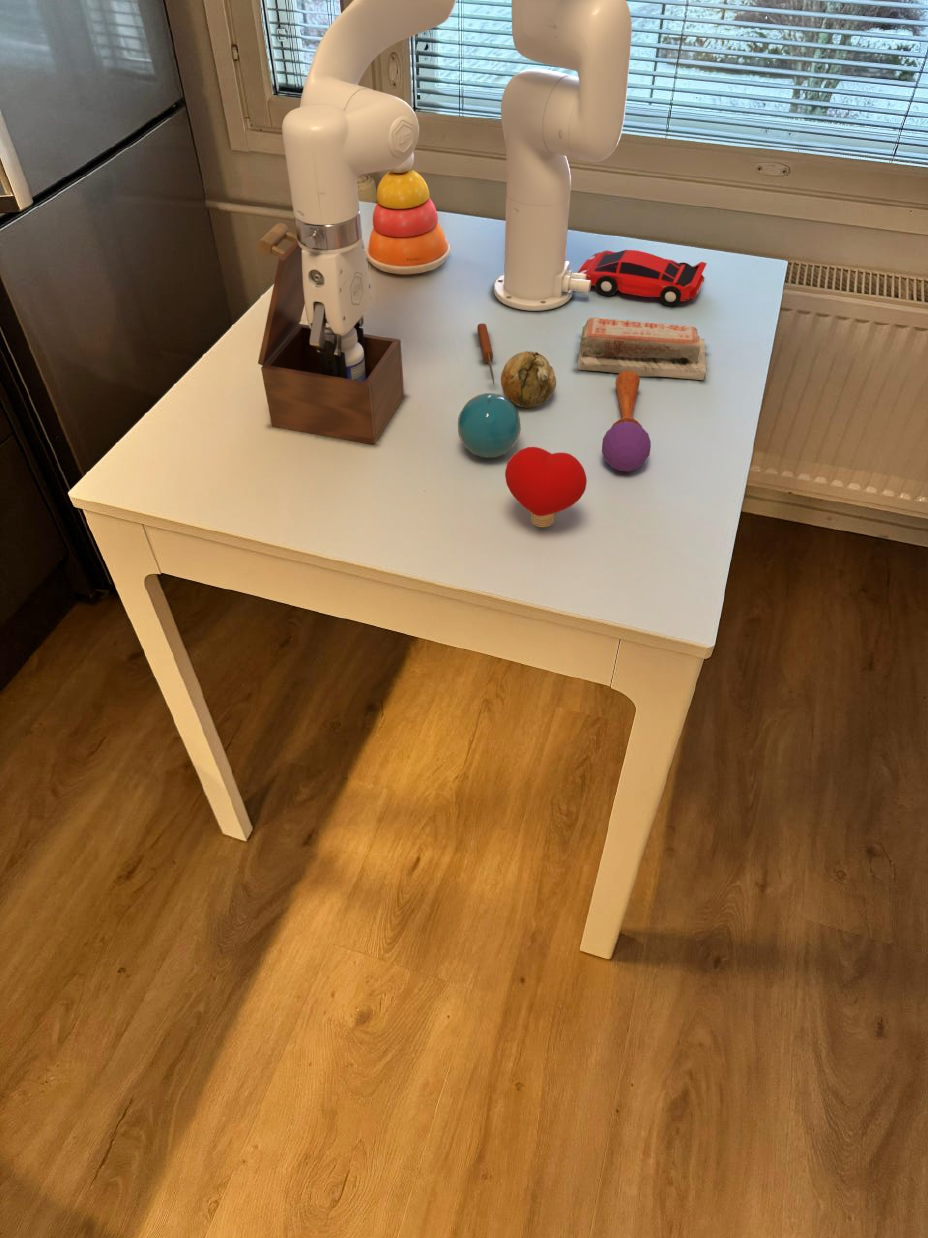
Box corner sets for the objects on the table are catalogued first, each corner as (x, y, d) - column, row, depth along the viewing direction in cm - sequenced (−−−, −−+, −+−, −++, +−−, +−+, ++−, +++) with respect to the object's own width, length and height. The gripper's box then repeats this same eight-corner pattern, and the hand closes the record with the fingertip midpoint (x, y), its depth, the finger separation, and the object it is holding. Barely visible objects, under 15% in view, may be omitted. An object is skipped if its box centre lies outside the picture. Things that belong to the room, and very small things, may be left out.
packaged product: (579, 341, 127) (584, 306, 133) (576, 372, 130) (581, 336, 137) (711, 351, 125) (709, 315, 131) (704, 382, 128) (703, 346, 135)
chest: (404, 397, 126) (400, 339, 120) (374, 444, 119) (368, 385, 112) (307, 380, 129) (298, 323, 123) (271, 426, 122) (260, 367, 115)
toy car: (584, 265, 153) (587, 235, 149) (704, 282, 149) (710, 251, 145) (569, 293, 146) (572, 263, 143) (695, 312, 142) (701, 281, 138)
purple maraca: (655, 367, 123) (657, 444, 109) (641, 405, 128) (641, 485, 113) (613, 356, 123) (609, 432, 109) (600, 395, 127) (595, 473, 113)
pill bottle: (319, 402, 121) (309, 335, 114) (343, 382, 124) (335, 316, 117) (352, 414, 119) (344, 347, 112) (376, 394, 122) (370, 327, 115)
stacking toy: (448, 241, 160) (446, 120, 146) (452, 279, 150) (450, 153, 136) (367, 243, 159) (357, 122, 145) (365, 281, 149) (354, 156, 135)
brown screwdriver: (477, 333, 138) (477, 320, 136) (486, 332, 138) (486, 320, 137) (489, 390, 127) (489, 377, 126) (498, 389, 127) (499, 377, 126)
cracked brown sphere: (566, 392, 127) (570, 340, 121) (541, 422, 122) (545, 369, 116) (516, 379, 129) (519, 327, 123) (491, 407, 124) (492, 354, 118)
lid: (325, 218, 111) (290, 200, 111) (284, 260, 103) (246, 240, 103) (300, 321, 122) (268, 305, 122) (262, 366, 115) (228, 349, 115)
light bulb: (587, 515, 109) (596, 445, 101) (573, 552, 104) (580, 482, 97) (512, 499, 111) (515, 430, 103) (495, 535, 106) (497, 465, 99)
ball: (523, 436, 120) (526, 383, 114) (515, 474, 114) (517, 419, 108) (463, 431, 120) (462, 377, 115) (452, 467, 115) (451, 413, 109)
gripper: (329, 264, 99) (346, 407, 112) (385, 202, 110) (394, 338, 123) (266, 255, 100) (290, 397, 114) (327, 195, 112) (343, 330, 125)
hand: (344, 365), depth 118 cm, fingers closed on pill bottle, 5 cm apart
